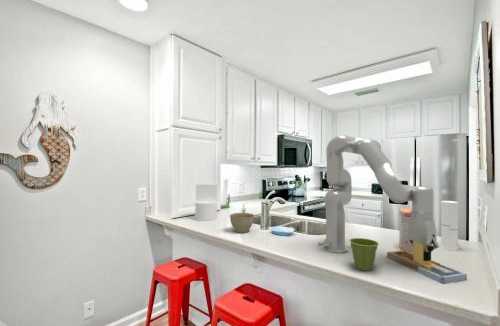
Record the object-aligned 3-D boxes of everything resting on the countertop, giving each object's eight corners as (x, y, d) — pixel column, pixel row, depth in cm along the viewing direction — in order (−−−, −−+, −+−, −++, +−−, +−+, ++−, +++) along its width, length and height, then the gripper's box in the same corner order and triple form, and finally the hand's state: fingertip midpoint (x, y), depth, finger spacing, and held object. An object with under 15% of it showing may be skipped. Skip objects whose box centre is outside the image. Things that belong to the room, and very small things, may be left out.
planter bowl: (256, 233, 161) (256, 217, 162) (230, 234, 159) (230, 217, 159) (251, 227, 177) (251, 212, 177) (229, 228, 175) (229, 212, 175)
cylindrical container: (442, 245, 140) (442, 200, 140) (458, 248, 134) (458, 201, 135) (439, 248, 135) (439, 201, 135) (457, 251, 129) (457, 203, 130)
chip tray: (442, 286, 92) (442, 277, 92) (417, 274, 102) (417, 266, 102) (466, 282, 95) (466, 274, 95) (440, 271, 105) (440, 263, 105)
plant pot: (382, 267, 109) (382, 241, 109) (373, 276, 101) (373, 248, 101) (355, 260, 117) (355, 236, 118) (344, 267, 109) (344, 241, 109)
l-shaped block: (428, 273, 101) (428, 245, 101) (413, 266, 108) (413, 240, 108) (438, 271, 102) (438, 244, 102) (422, 264, 109) (422, 239, 109)
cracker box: (415, 254, 125) (415, 212, 125) (401, 252, 127) (401, 211, 127) (411, 246, 137) (411, 208, 137) (398, 245, 140) (398, 207, 140)
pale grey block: (438, 277, 98) (438, 269, 98) (430, 274, 101) (430, 266, 101) (444, 276, 99) (444, 268, 99) (436, 273, 102) (436, 265, 102)
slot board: (418, 274, 102) (418, 265, 102) (387, 259, 118) (387, 252, 118) (439, 271, 105) (439, 263, 105) (405, 257, 121) (405, 250, 121)
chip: (446, 281, 95) (446, 272, 95) (438, 277, 98) (438, 269, 98) (453, 280, 96) (453, 271, 96) (444, 276, 99) (444, 268, 99)
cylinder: (199, 216, 215) (199, 183, 215) (218, 216, 213) (219, 183, 214) (192, 220, 198) (192, 185, 198) (214, 221, 196) (214, 185, 196)
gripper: (398, 212, 114) (398, 252, 114) (434, 220, 98) (434, 267, 98) (412, 211, 116) (411, 251, 116) (449, 219, 100) (448, 265, 100)
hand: (422, 258), depth 107 cm, fingers closed on l-shaped block, 4 cm apart
